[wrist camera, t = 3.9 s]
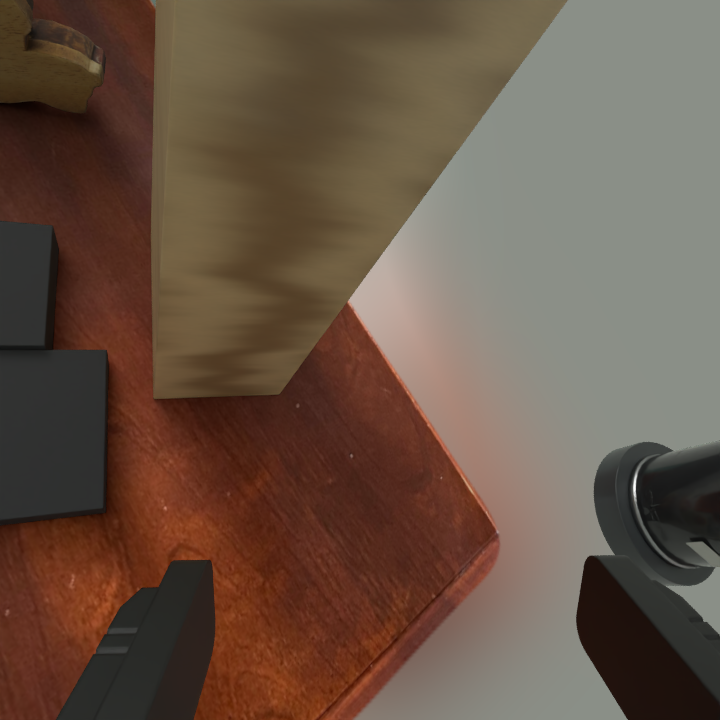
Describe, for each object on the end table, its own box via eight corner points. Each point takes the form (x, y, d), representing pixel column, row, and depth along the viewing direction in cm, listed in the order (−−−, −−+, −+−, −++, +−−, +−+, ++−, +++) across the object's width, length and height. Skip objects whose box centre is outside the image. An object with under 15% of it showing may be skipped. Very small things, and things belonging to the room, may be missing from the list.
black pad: (110, 252, 33) (108, 230, 31) (106, 512, 27) (102, 507, 25) (-58, 240, 29) (-74, 213, 27) (-106, 538, 23) (-131, 534, 21)
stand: (263, 247, 38) (536, -510, 11) (279, 394, 34) (764, -266, 7) (150, 237, 34) (173, -854, 8) (153, 399, 30) (216, -762, 4)
